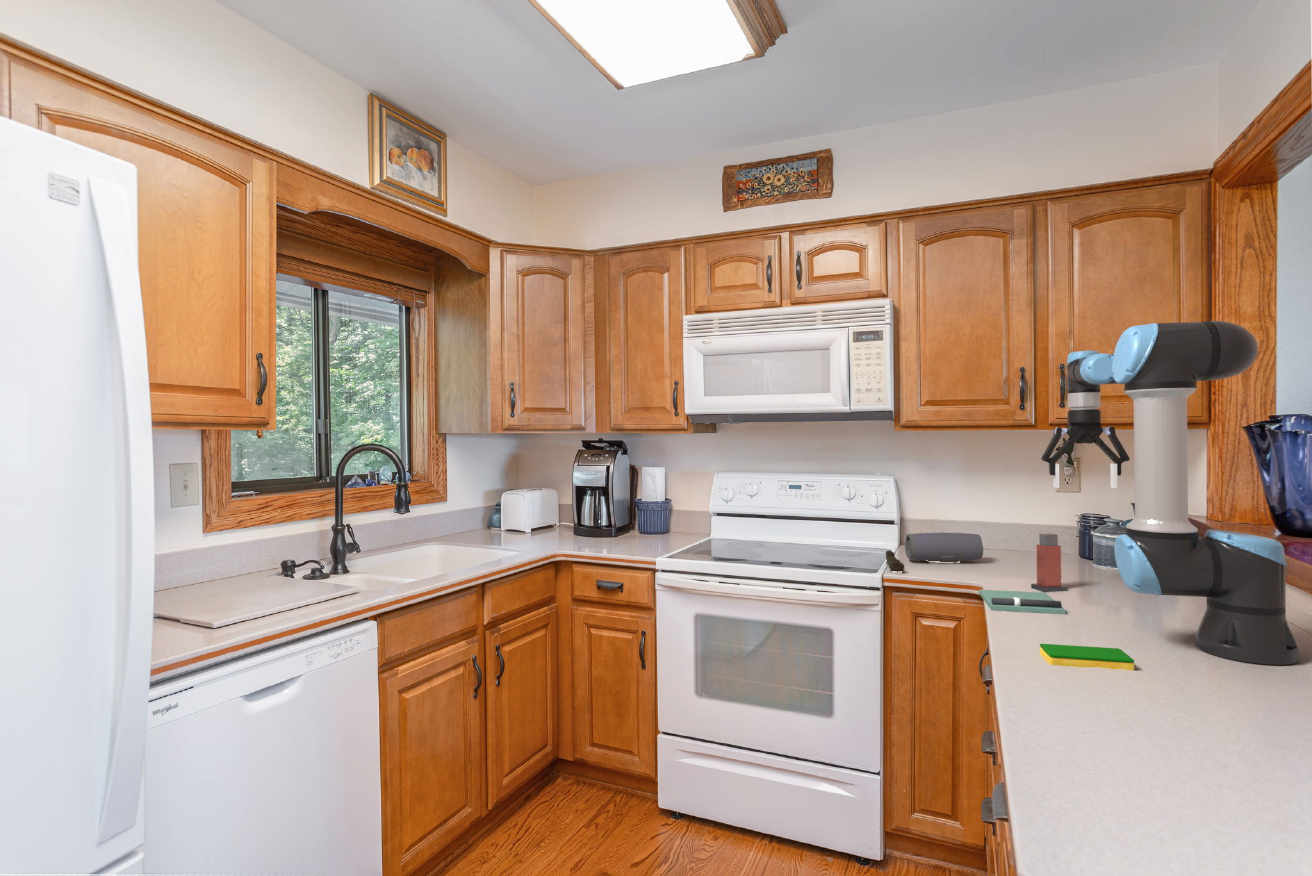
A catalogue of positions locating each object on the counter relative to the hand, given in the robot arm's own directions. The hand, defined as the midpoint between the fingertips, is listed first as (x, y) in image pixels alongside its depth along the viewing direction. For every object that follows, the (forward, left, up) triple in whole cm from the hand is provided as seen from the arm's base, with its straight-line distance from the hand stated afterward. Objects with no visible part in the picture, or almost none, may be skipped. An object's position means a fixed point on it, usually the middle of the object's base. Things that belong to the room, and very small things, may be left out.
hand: (1084, 488), depth 183 cm
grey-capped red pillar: (+1, +9, -28) cm, 29 cm away
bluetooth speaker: (+36, +32, -28) cm, 56 cm away
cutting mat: (-17, +20, -28) cm, 38 cm away
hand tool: (+23, +49, -28) cm, 61 cm away
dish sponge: (-62, +18, -29) cm, 71 cm away
